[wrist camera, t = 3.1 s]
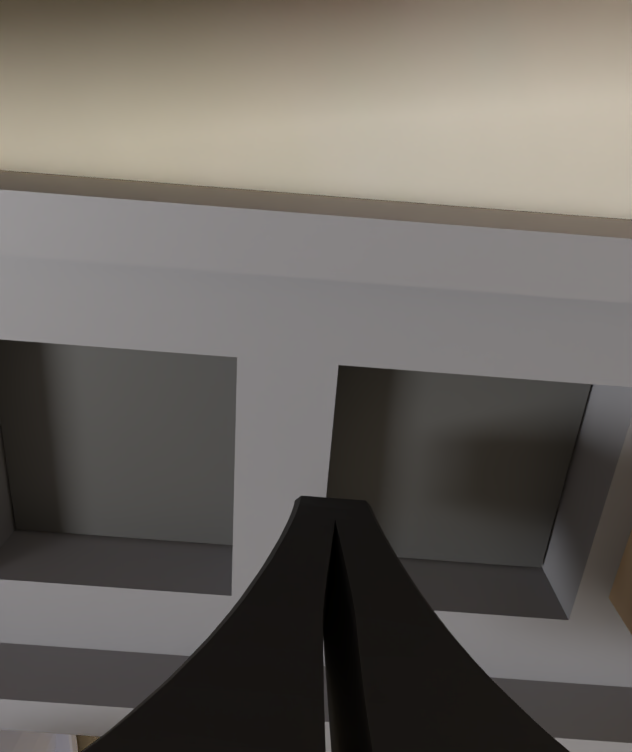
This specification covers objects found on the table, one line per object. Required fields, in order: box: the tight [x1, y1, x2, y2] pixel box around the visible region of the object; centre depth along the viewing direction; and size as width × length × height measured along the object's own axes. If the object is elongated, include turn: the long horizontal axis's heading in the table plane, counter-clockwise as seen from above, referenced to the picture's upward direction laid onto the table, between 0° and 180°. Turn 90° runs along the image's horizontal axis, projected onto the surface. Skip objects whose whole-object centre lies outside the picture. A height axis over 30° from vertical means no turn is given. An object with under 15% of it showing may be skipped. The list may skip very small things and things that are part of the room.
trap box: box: [0, 170, 632, 752], centre depth 13 cm, size 12×32×4 cm, turn 86°
